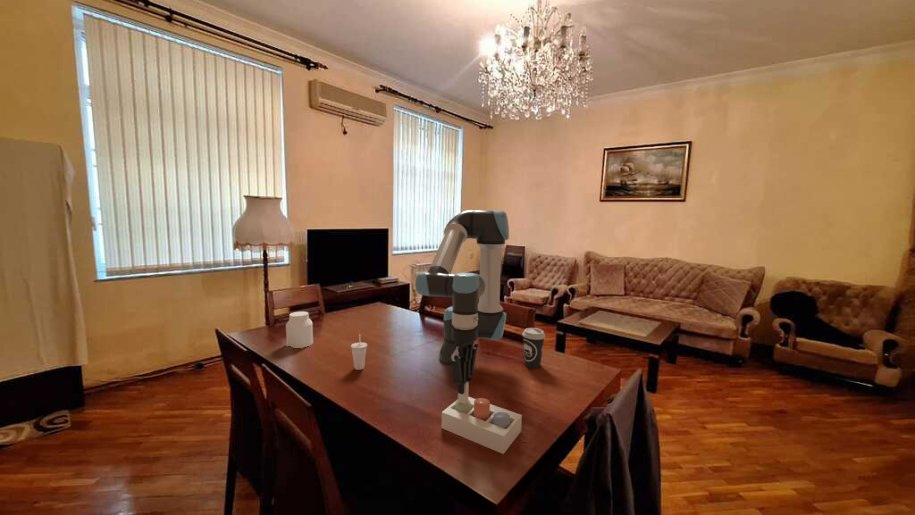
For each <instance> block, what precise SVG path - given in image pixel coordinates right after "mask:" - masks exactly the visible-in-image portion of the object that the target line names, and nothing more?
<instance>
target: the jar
mask: <svg viewBox="0 0 915 515" xmlns="http://www.w3.org/2000/svg"><path fill="white" fill-rule="evenodd" d="M288 316H289V320H288V321H287V322H286V324H285V332H286V347H288V346H291V347H290V348H293V349H294V348H301V349H304V348H303V347H306V348H308V347H307V346H309V347H311V346H312V345H313V344H314V336H313V334H314V333H313V325H314V324H313V321H312V319H311V318H309V316H310V315H309V312H308V311H294V312H291V313H290V314H289V315H288ZM310 345H311V346H310Z"/></svg>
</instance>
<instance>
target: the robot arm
mask: <svg viewBox="0 0 915 515" xmlns="http://www.w3.org/2000/svg"><path fill="white" fill-rule="evenodd" d="M467 239H468V240H469V239H473V240H476V245H477V246H478V247H479V274H478V273H475V272H474V273H473V272H458V273H452V271H453V268H454V266H455V263H456V261H457V257H458V255H459V252H460V251H461V248H462V245H463V244H464V243H465V242H466V241H467ZM509 239H510V229H509V220H508V215H507V213H506V212H505V211H503V210H497V209H496V210H495V209H493V210H489V209H488V210H477V209H476V210H475V209H469V210H464V211H461V212H459V213H458V214H456V215H455V216H453V217H452V218H451V219H450V220H449V221H448V223H447V224H446V225H445V228H444V229H443V238H442V240H441V242H440V244H439V247H438V249H437V251H436V252H435V255H434V257H433V259H432V261H431V264H430V266H429V268H428V270H427V272H426V271H424V272H423V271H422V272H419V273H418V274H417V275H416V278H415V284H414V285H415V286H414V287H415V290H416V293H417V294H418V295H420V296H425V297H426V296H427V297H440V298H441V297H443V298H452V306H449V307H447V308H446V309H444V314H443V342H442V343H441V344H442V345H441V348H440V351H439V354H438V355H439V356H438V357H439V360H440V362H441V363H444V364H445V365H450V366H451V373H452V379H453V380H452V381H453V383H456V384H458V385H457V400H458V402H460V403H462V404H465V405H466V404H467V403H468V397H469V386H470V385H469V384H470V382H472V381H473V378H471V377H473V376H474V373H475V366H476V358H477V351H478V348H479V344H478V343H476V341H477V340H478V339H482V340H490V341H492V340H493V341H499V340H501V339H502V338H503V334H504V330H505V326H506V321H507V312H504V308H503V306H502V305H501V304H500V300H501V299H500V296H501V293H500V292H501V269H502V268H501V263H502V262H501V260H502V259H501V258H502V248H503V247H504V246H505V245H506V241H508V240H509Z"/></svg>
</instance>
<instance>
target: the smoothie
mask: <svg viewBox="0 0 915 515" xmlns="http://www.w3.org/2000/svg"><path fill="white" fill-rule="evenodd" d="M358 336H359V337H358V339H359V342H354V343H352V344H351V345H350V349H351V353H352V359H353V366H354V370H357V371H359V370H364V369H365V362H366V354H367V348H368V343H366V342H362V341H361V339H362V338H361V337H362V336H361V333H359V334H358Z"/></svg>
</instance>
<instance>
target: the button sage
mask: <svg viewBox="0 0 915 515" xmlns="http://www.w3.org/2000/svg"><path fill="white" fill-rule="evenodd" d="M456 400H457V401H456ZM456 400H455V401H456V403H455V410H457V411H459V412H462V413H465V414H467V413H468V412H469V411H470V410H471V402H470V401H469V400H468V403H467V404H466V405H465V404H462V403H460V402H458V399H456Z"/></svg>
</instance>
